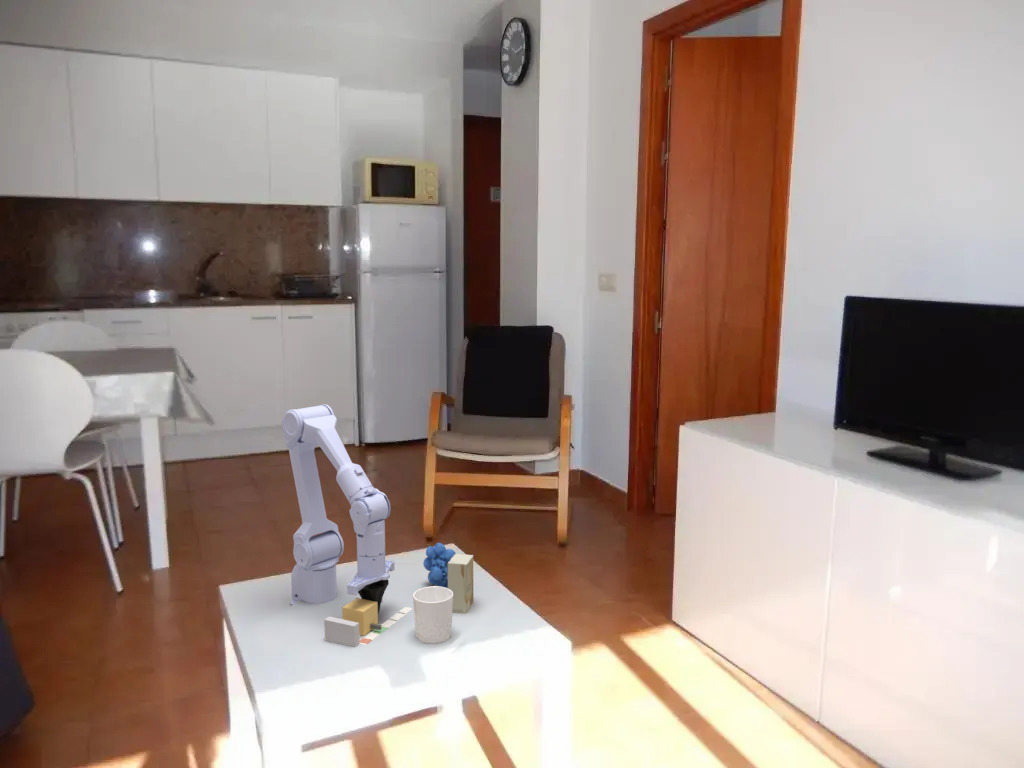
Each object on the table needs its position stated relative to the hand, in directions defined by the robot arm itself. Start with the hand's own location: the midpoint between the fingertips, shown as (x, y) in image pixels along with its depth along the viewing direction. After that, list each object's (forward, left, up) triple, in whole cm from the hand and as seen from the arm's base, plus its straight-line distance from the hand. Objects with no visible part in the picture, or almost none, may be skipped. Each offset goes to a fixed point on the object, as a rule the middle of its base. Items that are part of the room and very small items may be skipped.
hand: (372, 614), depth 159 cm
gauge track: (0, -1, -2) cm, 3 cm away
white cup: (+15, -1, -3) cm, 15 cm away
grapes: (+6, +19, -3) cm, 20 cm away
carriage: (+1, -4, -1) cm, 5 cm away
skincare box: (+14, +13, -3) cm, 19 cm away
